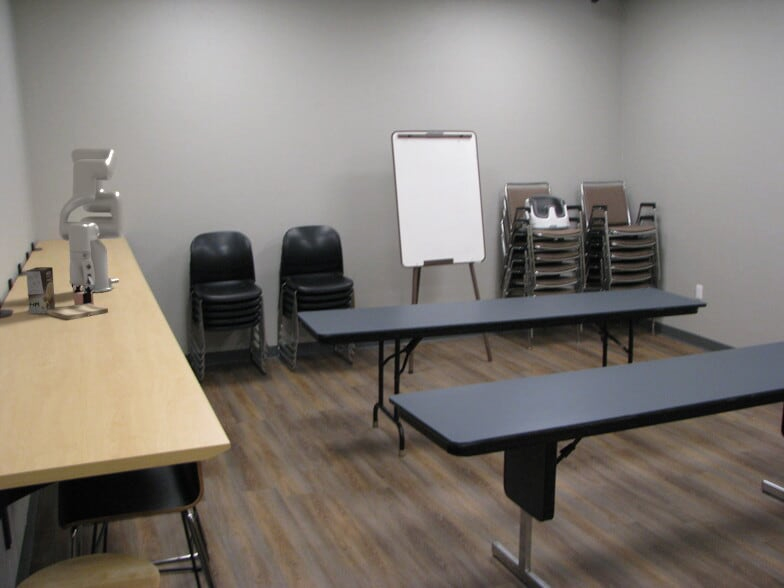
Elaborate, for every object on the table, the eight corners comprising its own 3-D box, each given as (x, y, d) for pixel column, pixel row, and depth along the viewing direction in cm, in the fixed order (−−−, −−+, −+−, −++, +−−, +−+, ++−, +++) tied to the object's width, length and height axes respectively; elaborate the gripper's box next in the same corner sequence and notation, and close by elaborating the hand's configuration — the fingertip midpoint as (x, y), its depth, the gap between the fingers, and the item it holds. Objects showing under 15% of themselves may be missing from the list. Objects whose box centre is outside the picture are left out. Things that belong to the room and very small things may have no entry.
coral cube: (86, 303, 290) (85, 291, 289) (93, 305, 287) (93, 292, 286) (74, 305, 286) (73, 293, 285) (82, 307, 283) (81, 294, 282)
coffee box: (46, 313, 272) (43, 271, 269) (28, 313, 272) (25, 270, 268) (55, 308, 281) (52, 266, 278) (38, 308, 281) (35, 266, 277)
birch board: (86, 306, 285) (86, 303, 284) (108, 312, 277) (107, 308, 277) (47, 314, 272) (46, 310, 272) (68, 319, 264) (68, 315, 264)
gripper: (102, 256, 282) (104, 303, 284) (76, 253, 291) (78, 298, 294) (84, 258, 275) (87, 306, 278) (58, 254, 285) (61, 301, 288)
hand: (82, 301), depth 286 cm, fingers closed on coral cube, 5 cm apart
